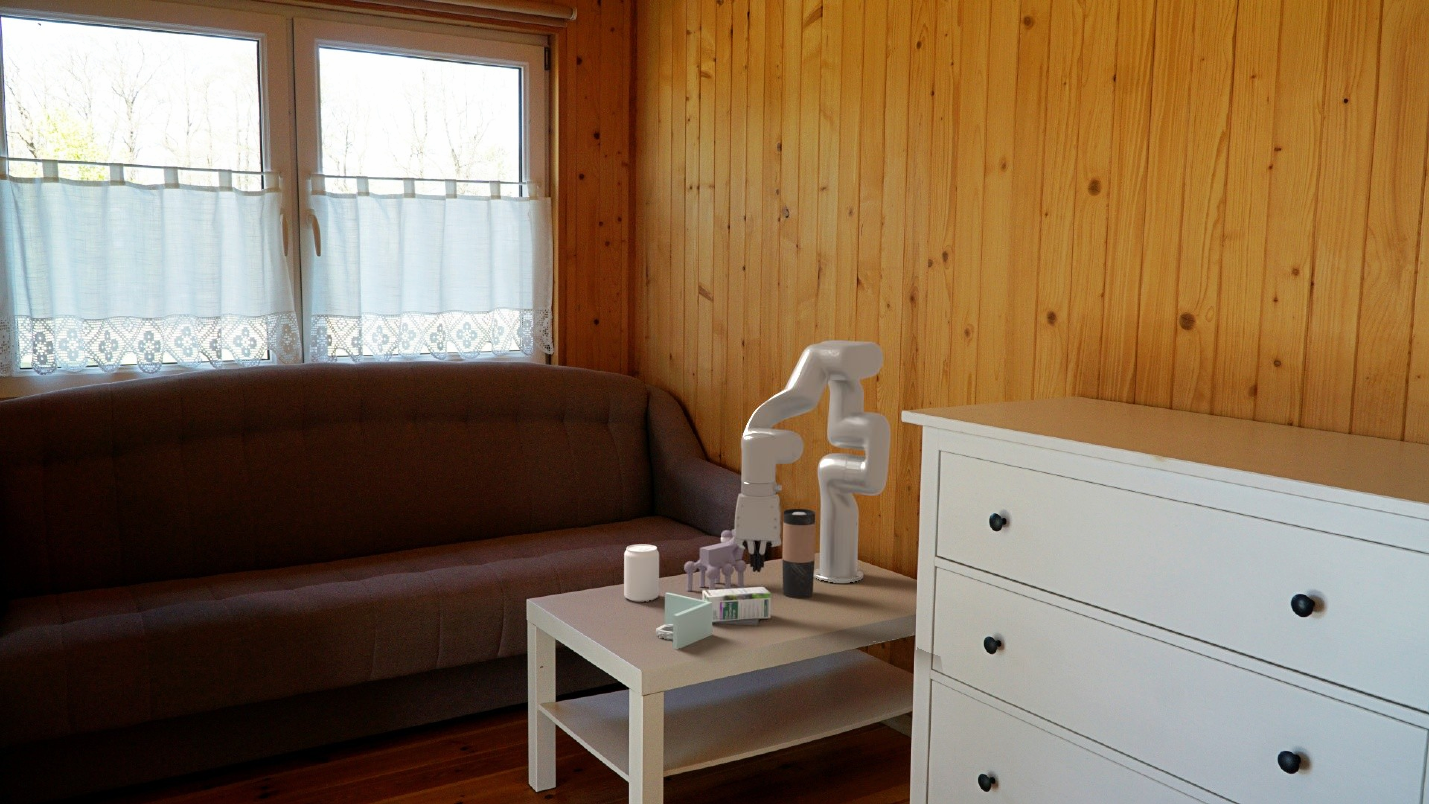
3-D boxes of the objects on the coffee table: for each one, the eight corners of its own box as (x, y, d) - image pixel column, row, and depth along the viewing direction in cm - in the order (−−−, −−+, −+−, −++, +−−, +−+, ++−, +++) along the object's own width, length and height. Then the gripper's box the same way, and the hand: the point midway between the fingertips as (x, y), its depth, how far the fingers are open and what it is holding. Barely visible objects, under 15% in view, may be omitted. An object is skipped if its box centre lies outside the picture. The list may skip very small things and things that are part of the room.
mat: (679, 599, 251) (679, 597, 250) (764, 604, 248) (764, 602, 248) (666, 620, 235) (666, 618, 235) (756, 625, 232) (756, 623, 232)
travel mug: (819, 593, 258) (821, 511, 255) (804, 600, 251) (805, 516, 249) (791, 588, 262) (793, 507, 260) (775, 595, 255) (777, 512, 253)
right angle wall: (667, 626, 233) (667, 592, 232) (711, 637, 226) (712, 602, 225) (631, 640, 223) (631, 605, 222) (676, 652, 216) (677, 616, 215)
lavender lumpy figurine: (736, 574, 274) (739, 522, 272) (767, 584, 266) (770, 531, 264) (680, 589, 259) (682, 534, 257) (711, 600, 252) (714, 544, 250)
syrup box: (771, 618, 235) (707, 623, 232) (763, 610, 241) (700, 614, 237) (771, 593, 235) (707, 597, 231) (763, 585, 241) (701, 589, 237)
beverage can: (632, 591, 257) (632, 542, 256) (663, 595, 254) (664, 545, 253) (618, 600, 249) (618, 550, 248) (650, 604, 247) (650, 553, 245)
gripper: (793, 487, 240) (791, 567, 241) (727, 485, 242) (726, 564, 244) (790, 493, 232) (789, 576, 234) (722, 491, 234) (721, 573, 236)
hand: (757, 570), depth 239 cm, fingers closed
